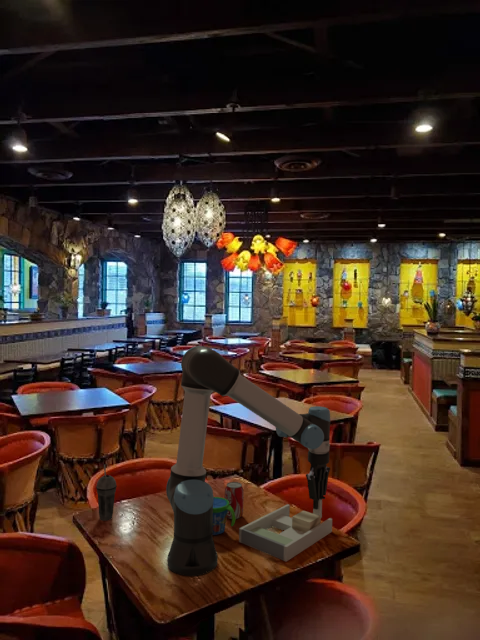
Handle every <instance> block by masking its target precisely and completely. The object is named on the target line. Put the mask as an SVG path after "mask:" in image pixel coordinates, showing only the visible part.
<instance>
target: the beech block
mask: <svg viewBox="0 0 480 640" xmlns="http://www.w3.org/2000/svg"><path fill="white" fill-rule="evenodd" d="M291 518H292V528H293V529H296V530H299V531H301V532H304V533H306V532H308V531H309V530H311V529H313V528H314V527H316V526H318V525H319V524H321V523H322V522H321V519H322V518H321V516H319V515H315V514H313V512H309V511H306V510H301V511H300V512H298V513H296V514H294V515H293V516H292V517H291Z"/></svg>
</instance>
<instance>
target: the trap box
mask: <svg viewBox="0 0 480 640" xmlns="http://www.w3.org/2000/svg"><path fill="white" fill-rule="evenodd" d="M290 508H291V507H290V504H288V503H287V504H285V505H283V506H282V507H279V508H277V509H275V510H273V511H271V512H269V513H267V514H266V515H265V514H264V515H263V516H262V517H259V518H258V519H257V518H256V519H255V520H253V521H251V522H249V523H248V524H246V525H243V526H241V527H239V528H238V542H239V543H241V544H243V545H245V546H247V547H251V548H252V549H255V550H257V551H260V552H262V553H265V554H267V555H270V556H272V557H274V558H277V559H279V560H282V561H283V562H288V561H289V560H291V559H293V558H294V557H296V556H297V555H298V554H300V553H302V552H303V551H305V550H307V549H308V548H310V547H311V546H313V545H314V544H315V543H317V542H319V541H320V540H321V539H323V538H325V537H326V536H327V535H329V534H331V533H332V532H333V518H332V517H329V518H327V519H326V520H324V521H323V522H320V524H319V525H318V526H316V527H314V528H313V529H311V530H309V531H308V532H306V533H304V532H301V531H299V530H296V529H293V528H292V517H290ZM272 526H273V527H272ZM275 527H276V528H275ZM269 528H275V529H278V530H280V529H281V530H280V531H281V532H280V533H276V532H273V531H270V530H268V529H269ZM283 530H284V531H283Z"/></svg>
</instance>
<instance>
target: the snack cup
mask: <svg viewBox="0 0 480 640" xmlns="http://www.w3.org/2000/svg"><path fill="white" fill-rule="evenodd" d="M228 511H230V512H231V516H232V519H231V523H230V526H231V527H233V526H234V525H235V523H236V519H235V513H234V510H233V508H232V507H231V506H230V505H229V501H228V500H227V499H225V497H220V496H214V502H213V526H212V536H217V535H221V534H223V533H224V532H225V530H226V524H227V519H228V518H227V512H228Z"/></svg>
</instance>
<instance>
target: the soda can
mask: <svg viewBox="0 0 480 640" xmlns="http://www.w3.org/2000/svg"><path fill="white" fill-rule="evenodd" d="M224 498H225V499H227V500H228V501H229V505H230V506H231V507H232V508H233V510H234V513H235V520H238V519H240V518H241V517H243V513H244V488H243V484H242V483H241V482H238V481H230V482H227V483H226V486H225V488H224ZM227 519H229V520H232V516H231V512H230V511H228V512H227Z"/></svg>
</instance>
